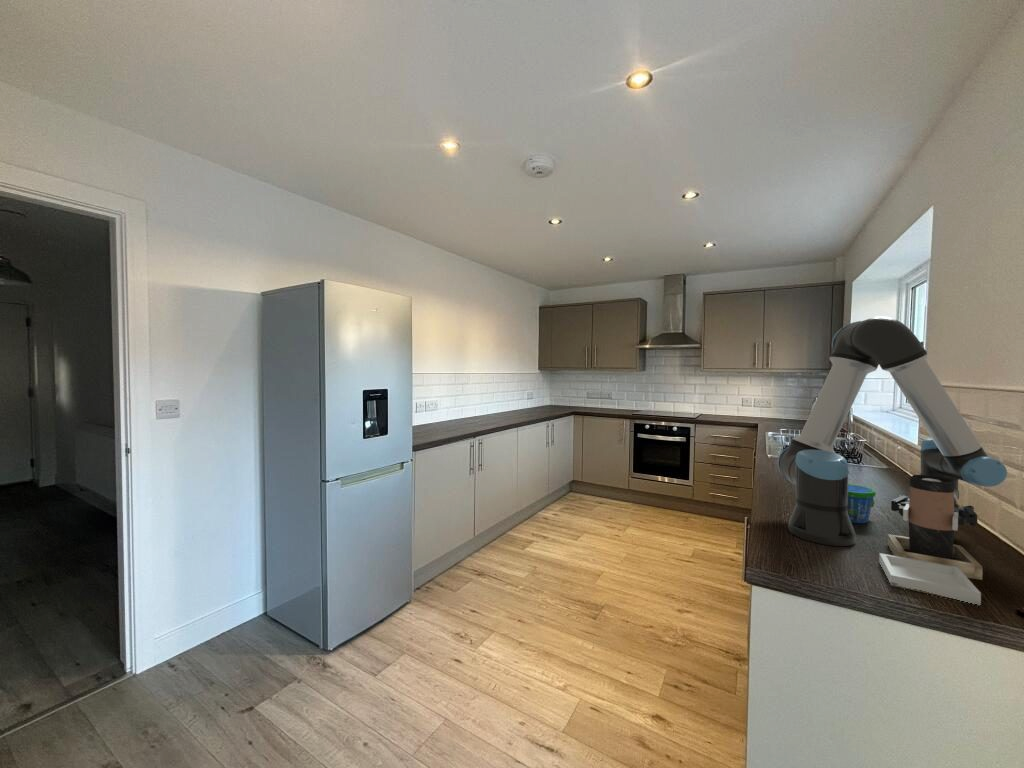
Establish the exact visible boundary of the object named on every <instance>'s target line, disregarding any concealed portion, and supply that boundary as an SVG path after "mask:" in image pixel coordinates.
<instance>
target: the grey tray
mask: <svg viewBox="0 0 1024 768" xmlns="http://www.w3.org/2000/svg"><path fill="white" fill-rule="evenodd" d="M878 555H879V561H878V562H879V563H880V564H879V566H880V565H881V566H880V568H881V567H882V568H881V570H882V569H883V570H884V572H885V574H886V576H887V578H888V580H889V582H890V583H891V584H892V585H896V586H902V587H906V588H911V589H917V590H922V591H926V592H929V593H933V594H937V595H941V596H945V597H949V598H953V599H957V600H960V601H959V602H961V601H964V602H963V603H966V602H968V603H967V604H970V603H972V605H975V604H977V605H976V606H980V605H982V592H981V591H980V590H979V589H978V588H977V587H976V586H975V585H974V583H973V582H972V581H971V580H970V578H968V577H966V576H965V575H964V574H963V573H962V571H961V570H960V569H959V568H958V567H954V566H948V565H943V564H937V563H932V562H926V561H921V560H915V559H910V558H904V557H899V556H894V555H893V554H887V553H881V552H879V553H878ZM883 570H882V571H883ZM884 572H883V573H884ZM885 574H884V575H885ZM886 576H885V577H886ZM887 578H886V579H887ZM888 580H887V581H888ZM889 582H888V583H889Z"/></svg>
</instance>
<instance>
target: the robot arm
mask: <svg viewBox="0 0 1024 768" xmlns="http://www.w3.org/2000/svg"><path fill="white" fill-rule="evenodd" d="M831 348H832V352H831V353H830V356H829V361H830V362H831V365H832V366H831V368H830V370H829V373H828V374H827V376H826V378H825V381H824V383H823V385H822V387H821V390H820V392H819V394H818V396H817V398H816V400H815V403H814V404H813V407H812V409H811V410H810V413H809V415H808V418H807V420H806V422H805V424H804V425H803V428H802V430H801V433H800V434H799V435H797V436H794V437H792V438H791V441H790V442H789V444H788V446H787V447H786V448H784V449H783V450H782V451H781V452H780V453H779V455H778V458H777V467H778V471H779V472H780V474H781V475H782V476H783V478H784V479H785V480H787V481H788V482H789V483H791V484H793V486H794V485H795V505H794V508H793V510H792V513H791V515H790V517H789V521H788V525H787V526H788V529H789V530H788V531H790V532H791V533H790V532H789V533H790V534H792V535H793V534H794V536H795V535H796V536H795V537H797V536H798V537H797V538H799V537H800V538H799V539H802V540H805V541H808V542H813V543H817V544H821V545H825V546H826V545H827V546H836V547H849V546H853V545H855V544H856V542H857V541H856V540H857V539H856V538H857V535H856V531H855V528H854V526H853V523H852V522H851V520H850V518H849V515H848V509H847V505H848V484H849V472H850V471H849V465H848V460H847V459H846V458H845V457H844V456H842V455H841V454H838V453H836V452H835V450H834V447H833V446H834V444H835V442H836V440H837V438H838V436H839V434H840V432H841V430H842V428H843V425H844V423H845V421H846V420H847V419H846V418H847V417H848V414H849V412H850V410H851V408H852V407H853V404H854V402H855V401H856V398H857V396H858V394H859V392H860V390H861V387H862V386H863V383H864V381H865V379H866V377H867V375H868V374H870V373H873V372H876V371H877V369H878V367H880V368H881V370H883V371H886V372H889V374H890V375H891V376H892V378H893V380H894V382H895V383H896V384H897V386H898V388H899V389H900V391H901V392H902V394H903V396H904V397H905V398H906V401H907V402H908V403H909V405H910V406H911V408H912V410H913V412H915V415H916V416H917V418H918V419H919V420H920V422H921V423H922V425H923V427H924V428H925V430H926V431H927V433H928V435H929V436H930V438H925V439H923V440H922V441H921V446H920V450H919V453H920V475H928V476H936V477H942V478H947V479H950V480H953V481H954V514H953V525H952V530H954V531H956V532H957V531H958V528H959V526H966V525H967V524H969V525H970V526H974V527H977V526H978V513H976V511H975V507H974V506H972V505H962V507H961V506H959V505H958V500H959V498H960V490H959V480H960V481H962V482H965V483H966V484H967V483H968V484H970V485H975V486H981V487H985V488H987V487H988V488H990V487H996V486H998V485H1001V484H1002V483H1003V482H1004V481H1005V480H1006V479H1007V477H1008V469H1007V467H1006V465H1004V463H1002V461H1000V460H998V459H997V458H996V459H995V458H994V457H992V456H989V455H988V454H987V452H986V451H985V449H984V448H983V446H982V445H981V443H980V441H979V440H978V438H977V437H976V436H975V434H974V432H973V431H972V430H971V428H970V426H969V425H968V424H967V423H968V422H966V420H965V419H964V417H963V416H962V414H961V412H960V411H959V410H958V408H957V407H956V405H955V403H954V402H953V400H952V398H951V397H950V396H949V394H948V392H947V391H946V390H945V388H944V386H943V384H942V383H941V381H940V380H939V379H938V377H937V376H936V374H935V373H934V371H933V369H932V367H931V366H930V364H929V363H928V361H927V360H926V358H927V356H928V351H926V348H925V347H924V345H923V344H922V343H921V341H920V340H919V338H918V337H917V336H916V334H915V333H914V332H913V331H912V330H911V329H910V328H909V327H907V325H905V324H904V323H903V322H901V321H899V320H898V319H895V318H892V317H888V316H874V317H871V318H868V319H864V320H859V321H855V322H854V321H853V322H851V323H848V324H846V325H844V326H842V327H841V328H840V329H838V330H837V331H836V332H835V334H834V336H833V337H832V341H831ZM890 504H891V505H890V507H891V509H890V510H891V511H893V512H898V514H900V516H902V520H903V521H905V522H909V496H906V495H904V494H899V495H898V497H896V498H894V499H892V500H891V503H890Z"/></svg>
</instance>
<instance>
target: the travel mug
mask: <svg viewBox="0 0 1024 768" xmlns="http://www.w3.org/2000/svg"><path fill="white" fill-rule="evenodd" d="M908 499H909V519H908V537H909V545H910V550H909V552H911V553H916V554H922V555H928V556H934V557H939V558H945V559H951V560H953V558H952V556H953V544H954V539H955V537H954V536H955V530H952V525H953V514H954V481H953V480H950V479H947V478H942V477H936V476H928V475H921V474H913V475H912V476H909V496H908Z"/></svg>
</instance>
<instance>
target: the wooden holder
mask: <svg viewBox="0 0 1024 768" xmlns="http://www.w3.org/2000/svg"><path fill="white" fill-rule="evenodd" d="M887 546H889V547H888V548H889V550H890V551H892V552H891V553H892V555H893V556H899V557H904V558H910V559H915V560H921V561H926V562H932V563H937V564H943V565H948V566H954V567H958V568H959V569H960V570H961V571H962V573H963V574H964V575H965V576H966V577H967V578H968V579H974V580H981V581H983V570H984V569H983V565H982V564H980V563H979V562H978V561H977V560H976V559H975V558H974V557H973V556H972V555H971V554H970V553H969V552H968V551H967V550H966V549H965V548H964V547H962V545H960V544H959V545H958V544H954V543H953V556H952V560H951V559H945V558H939V557H934V556H928V555H922V554H916V553H911V552H910V545H909V536H904V535H903V536H902V535H896V534H889V533H887ZM905 549H907V550H905Z"/></svg>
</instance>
